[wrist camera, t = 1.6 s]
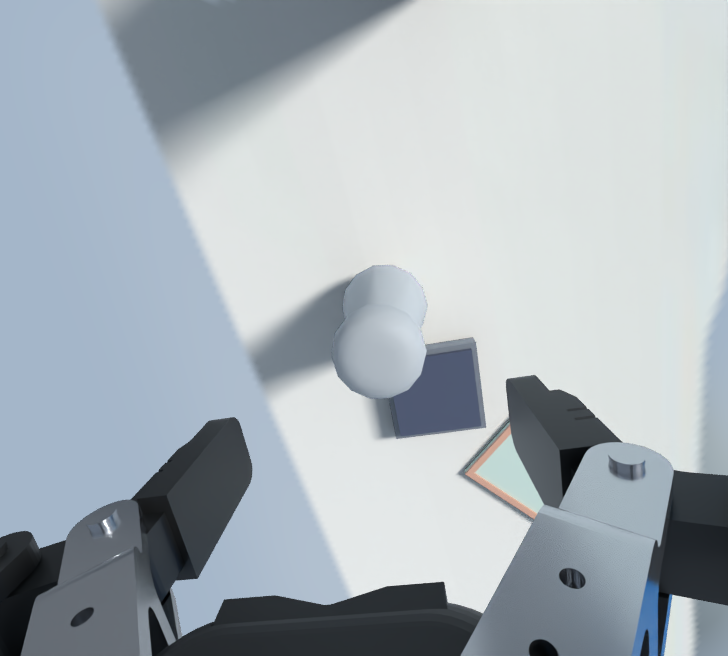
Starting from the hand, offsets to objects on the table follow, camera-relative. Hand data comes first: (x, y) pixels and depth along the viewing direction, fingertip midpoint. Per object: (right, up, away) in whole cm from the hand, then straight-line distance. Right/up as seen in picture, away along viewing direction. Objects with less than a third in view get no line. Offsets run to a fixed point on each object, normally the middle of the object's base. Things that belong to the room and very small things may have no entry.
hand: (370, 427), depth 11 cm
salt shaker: (+1, +5, +18) cm, 19 cm away
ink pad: (+5, -2, +19) cm, 20 cm away
